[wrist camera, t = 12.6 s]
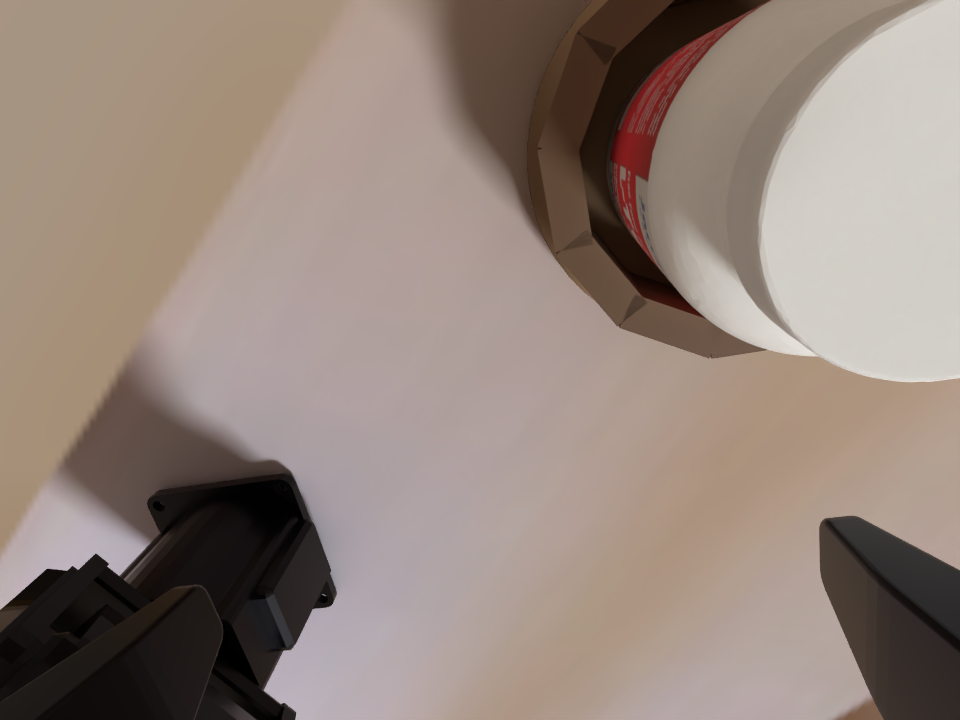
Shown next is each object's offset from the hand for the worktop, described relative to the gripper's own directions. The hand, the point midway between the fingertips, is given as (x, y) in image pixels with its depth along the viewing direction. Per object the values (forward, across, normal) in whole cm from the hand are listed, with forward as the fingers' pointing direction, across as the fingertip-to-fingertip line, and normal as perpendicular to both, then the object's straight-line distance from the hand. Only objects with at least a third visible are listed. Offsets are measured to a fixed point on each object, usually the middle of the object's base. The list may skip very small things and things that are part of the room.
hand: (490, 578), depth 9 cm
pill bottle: (+12, -6, -4) cm, 14 cm away
